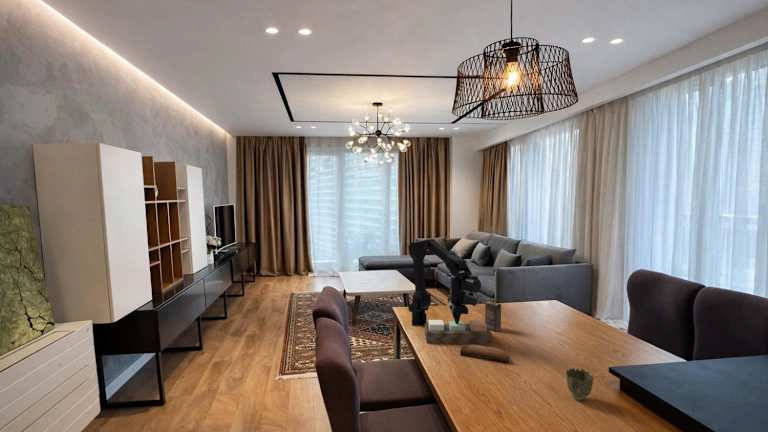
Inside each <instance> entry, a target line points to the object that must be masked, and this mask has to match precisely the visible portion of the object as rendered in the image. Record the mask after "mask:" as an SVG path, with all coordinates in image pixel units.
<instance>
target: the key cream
mask: <svg viewBox="0 0 768 432" xmlns="http://www.w3.org/2000/svg"><path fill="white" fill-rule="evenodd" d="M428 323H429V327H428V329H429V331H444V324H445V323H444V321H443V319H428Z"/></svg>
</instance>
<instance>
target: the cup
mask: <svg viewBox="0 0 768 432" xmlns="http://www.w3.org/2000/svg"><path fill="white" fill-rule="evenodd" d="M565 374H566V377H565V378H566V384H567V388H568V390H569V392H570V393H571V396H572V398H573V399H574V400H575V399H576V400H575V401H578V400H579V401H578V402H584V401H585V400H586V399H587V398H586V397H588V396H589V395H590V394H591V392H592V390H593V389H592V388H593V384H594V378H595V376H594V374H590V371H586V370H585V369H583V368H581V369H579V368H576V369H575V368H573V367H572V368H571V367H570V368H569V370H568V369H566V370H565Z"/></svg>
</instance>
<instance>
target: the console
mask: <svg viewBox="0 0 768 432" xmlns="http://www.w3.org/2000/svg"><path fill="white" fill-rule="evenodd" d="M443 324H444V331H429V329H428V327H429V322H428V323H427V322H426V323H425V325H424V335H425V340H426V344H466V345H467V344H468V345H482V344H483V345H491V344H492V332H491V331H490V329H488V327H487V331H471V329H470V323H464V325H465V331H450V329H449V323H443Z"/></svg>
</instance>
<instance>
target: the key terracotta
mask: <svg viewBox="0 0 768 432" xmlns="http://www.w3.org/2000/svg"><path fill="white" fill-rule="evenodd" d="M469 324H470V329H471V331H487V325H486V323H485V320H481V319H479V320H478V319H477V320H476V319H474V320H473V319H472V320H471V319H470V320H469Z"/></svg>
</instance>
